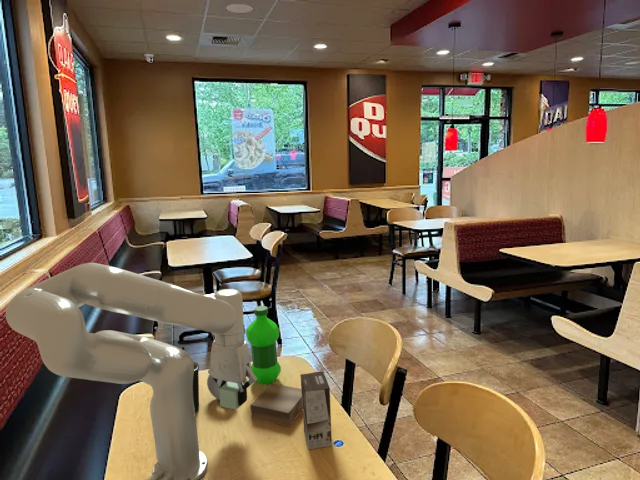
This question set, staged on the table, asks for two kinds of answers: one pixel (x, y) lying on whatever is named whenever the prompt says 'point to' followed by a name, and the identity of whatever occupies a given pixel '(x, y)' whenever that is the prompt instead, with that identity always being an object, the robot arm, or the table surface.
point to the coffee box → (316, 409)
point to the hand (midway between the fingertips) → (233, 400)
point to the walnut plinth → (278, 404)
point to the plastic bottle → (263, 347)
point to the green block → (229, 395)
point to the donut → (213, 387)
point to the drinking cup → (195, 386)
